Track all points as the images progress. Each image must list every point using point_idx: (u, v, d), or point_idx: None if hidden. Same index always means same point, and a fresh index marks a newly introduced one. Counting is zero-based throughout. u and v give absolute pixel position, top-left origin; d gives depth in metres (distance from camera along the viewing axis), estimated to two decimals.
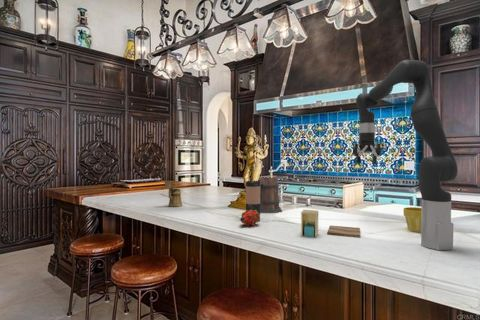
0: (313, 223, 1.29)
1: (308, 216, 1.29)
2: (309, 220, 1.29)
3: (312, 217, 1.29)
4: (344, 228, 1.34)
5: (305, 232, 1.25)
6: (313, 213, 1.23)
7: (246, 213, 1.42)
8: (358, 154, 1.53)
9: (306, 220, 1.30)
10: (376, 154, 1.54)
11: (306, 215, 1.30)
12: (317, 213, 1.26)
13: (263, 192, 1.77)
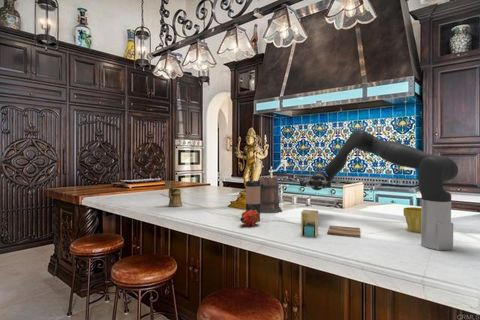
0: (313, 223, 1.29)
1: (308, 216, 1.29)
2: (309, 220, 1.29)
3: (312, 217, 1.29)
4: (344, 228, 1.34)
5: (305, 232, 1.25)
6: (313, 213, 1.23)
7: (246, 213, 1.42)
8: (303, 181, 1.43)
9: (306, 220, 1.30)
10: (325, 181, 1.40)
11: (306, 215, 1.30)
12: (317, 213, 1.26)
13: (263, 192, 1.77)
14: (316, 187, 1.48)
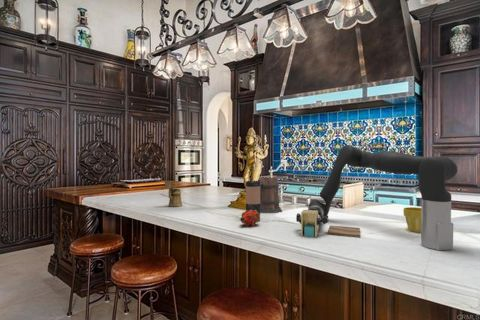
0: (313, 223, 1.29)
1: (308, 216, 1.29)
2: (309, 220, 1.29)
3: (312, 217, 1.29)
4: (344, 228, 1.34)
5: (305, 232, 1.25)
6: (313, 213, 1.23)
7: (246, 213, 1.42)
8: (300, 216, 1.30)
9: (306, 220, 1.30)
10: (319, 217, 1.28)
11: (306, 215, 1.30)
12: (317, 213, 1.26)
13: (263, 192, 1.77)
14: None
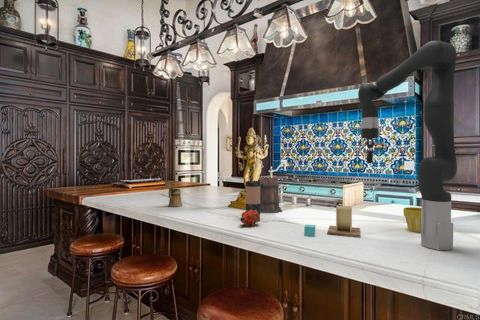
0: (347, 218, 1.33)
1: (342, 212, 1.34)
2: (343, 216, 1.34)
3: (346, 213, 1.33)
4: None
5: (305, 232, 1.25)
6: (348, 209, 1.28)
7: (246, 213, 1.42)
8: (366, 152, 1.44)
9: (340, 216, 1.34)
10: (367, 152, 1.35)
11: (340, 211, 1.34)
12: None
13: (263, 192, 1.77)
14: None
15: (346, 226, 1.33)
